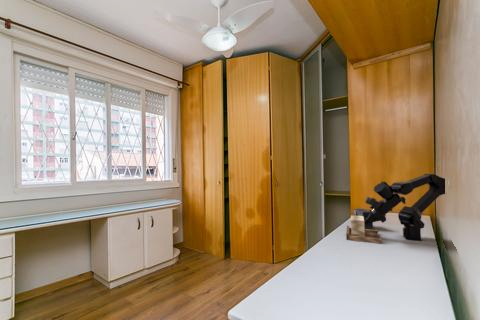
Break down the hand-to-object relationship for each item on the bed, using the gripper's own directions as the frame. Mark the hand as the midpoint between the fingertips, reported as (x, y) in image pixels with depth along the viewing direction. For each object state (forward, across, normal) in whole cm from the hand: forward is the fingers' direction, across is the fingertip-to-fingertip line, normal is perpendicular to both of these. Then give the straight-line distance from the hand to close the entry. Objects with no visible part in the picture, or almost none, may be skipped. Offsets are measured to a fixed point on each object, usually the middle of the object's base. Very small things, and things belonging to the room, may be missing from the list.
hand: (364, 223), depth 119 cm
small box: (+5, -20, +5) cm, 21 cm away
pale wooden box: (+7, 0, +3) cm, 8 cm away
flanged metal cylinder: (+7, -14, +3) cm, 17 cm away
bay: (+6, 0, +4) cm, 7 cm away
